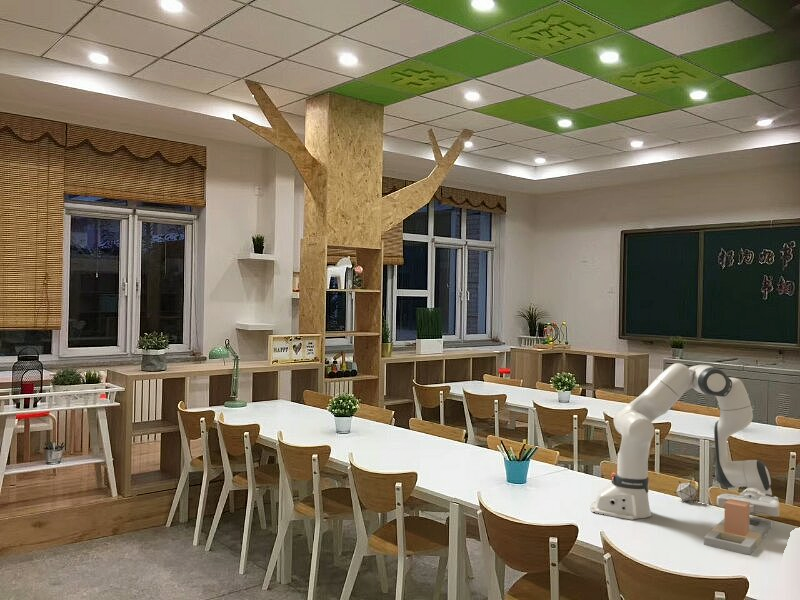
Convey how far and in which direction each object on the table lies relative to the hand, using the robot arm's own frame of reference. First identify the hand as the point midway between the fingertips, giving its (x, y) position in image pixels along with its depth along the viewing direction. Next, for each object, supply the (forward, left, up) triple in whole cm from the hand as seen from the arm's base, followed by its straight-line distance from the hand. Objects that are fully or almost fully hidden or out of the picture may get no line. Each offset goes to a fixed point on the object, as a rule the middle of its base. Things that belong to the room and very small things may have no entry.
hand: (743, 509), depth 239 cm
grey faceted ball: (-18, +33, -8) cm, 39 cm away
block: (-3, -8, -6) cm, 10 cm away
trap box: (-2, -5, -8) cm, 9 cm away
